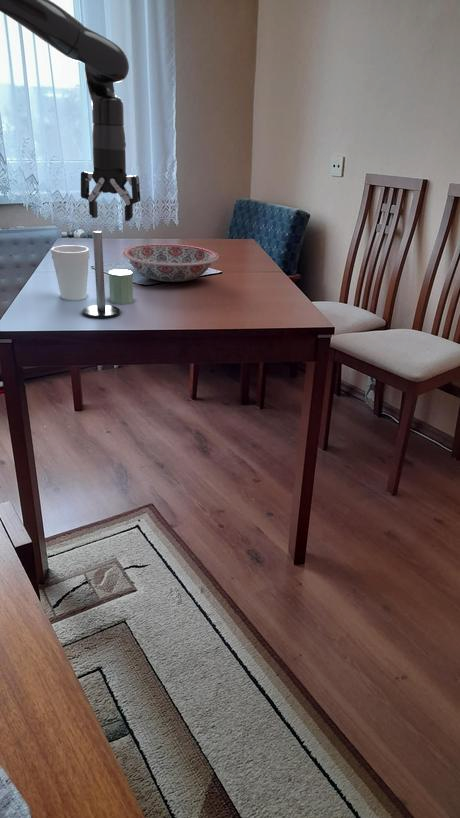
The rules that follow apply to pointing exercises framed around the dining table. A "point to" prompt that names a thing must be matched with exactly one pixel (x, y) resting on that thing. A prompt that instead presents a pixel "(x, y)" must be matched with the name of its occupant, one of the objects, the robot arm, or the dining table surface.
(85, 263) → the foam cup
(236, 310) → the dining table surface
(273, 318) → the dining table surface
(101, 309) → the towel holder
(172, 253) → the ceramic bowl
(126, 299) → the green cup
